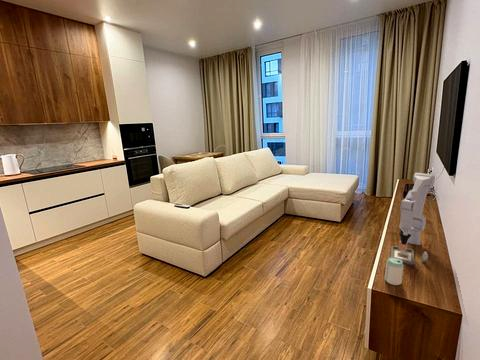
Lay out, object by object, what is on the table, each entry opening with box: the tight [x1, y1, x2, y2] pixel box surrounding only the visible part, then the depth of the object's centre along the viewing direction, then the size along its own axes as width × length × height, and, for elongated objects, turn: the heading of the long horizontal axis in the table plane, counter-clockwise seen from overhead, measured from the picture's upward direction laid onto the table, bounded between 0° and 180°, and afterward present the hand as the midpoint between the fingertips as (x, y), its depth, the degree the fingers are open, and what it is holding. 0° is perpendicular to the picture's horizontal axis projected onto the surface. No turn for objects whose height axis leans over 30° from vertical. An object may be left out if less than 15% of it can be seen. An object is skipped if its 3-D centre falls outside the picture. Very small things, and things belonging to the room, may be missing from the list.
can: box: [384, 256, 404, 286], centre depth 125 cm, size 7×7×12 cm
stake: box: [421, 251, 429, 264], centre depth 140 cm, size 4×2×6 cm, turn 149°
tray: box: [390, 245, 416, 266], centre depth 147 cm, size 16×11×2 cm
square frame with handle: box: [394, 240, 411, 262], centre depth 146 cm, size 12×8×6 cm
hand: (403, 241), depth 150 cm, fingers open, 7 cm apart
